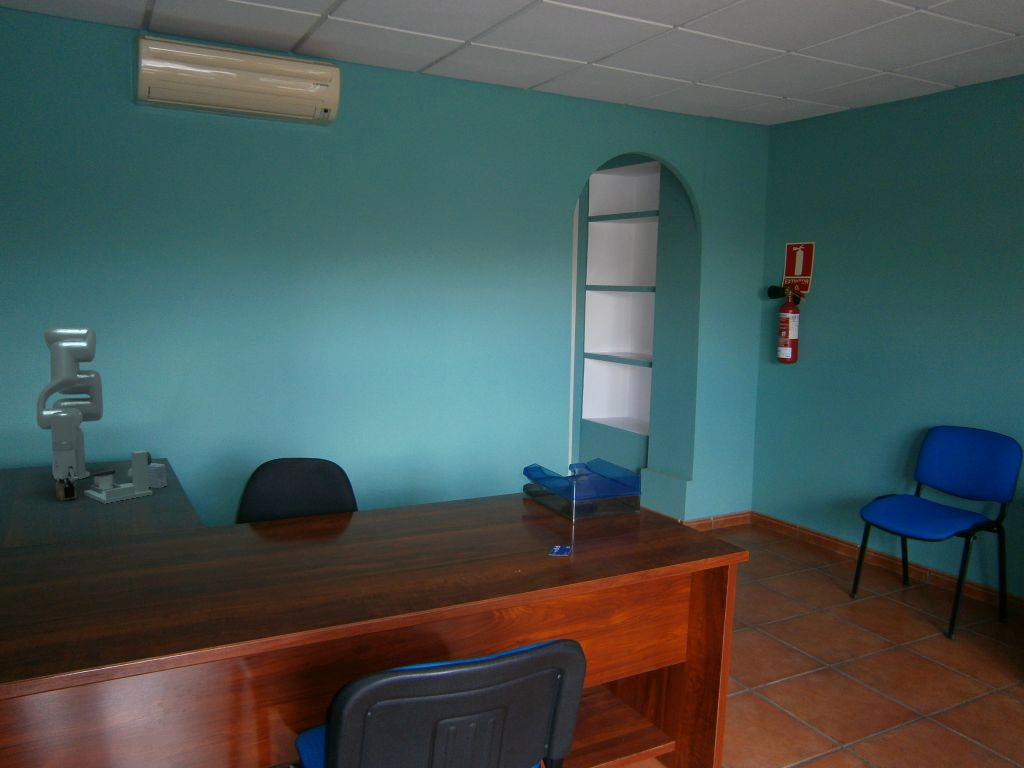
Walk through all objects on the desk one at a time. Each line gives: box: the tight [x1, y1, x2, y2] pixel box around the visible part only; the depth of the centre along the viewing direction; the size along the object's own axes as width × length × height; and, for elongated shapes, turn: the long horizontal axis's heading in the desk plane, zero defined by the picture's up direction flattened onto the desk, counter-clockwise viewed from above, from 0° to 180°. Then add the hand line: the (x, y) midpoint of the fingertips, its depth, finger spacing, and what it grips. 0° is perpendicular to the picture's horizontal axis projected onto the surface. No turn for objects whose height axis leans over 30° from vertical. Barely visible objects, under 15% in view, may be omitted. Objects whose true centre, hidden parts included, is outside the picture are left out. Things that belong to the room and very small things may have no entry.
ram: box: [90, 469, 116, 490], centre depth 292 cm, size 4×8×6 cm, turn 139°
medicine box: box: [148, 462, 167, 489], centre depth 303 cm, size 8×4×9 cm, turn 71°
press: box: [83, 449, 154, 505], centre depth 290 cm, size 18×18×16 cm
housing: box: [55, 480, 78, 501], centre depth 285 cm, size 5×5×6 cm
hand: (66, 495), depth 285 cm, fingers closed on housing, 5 cm apart
